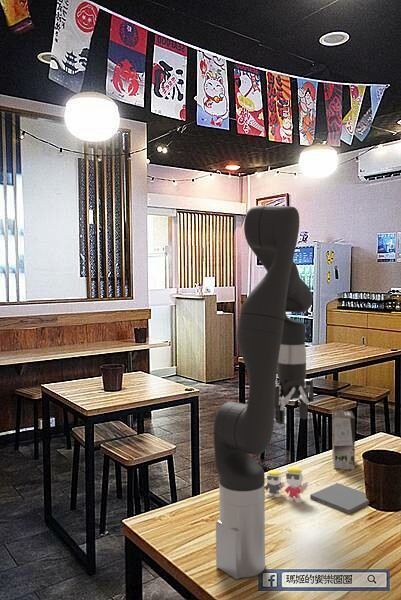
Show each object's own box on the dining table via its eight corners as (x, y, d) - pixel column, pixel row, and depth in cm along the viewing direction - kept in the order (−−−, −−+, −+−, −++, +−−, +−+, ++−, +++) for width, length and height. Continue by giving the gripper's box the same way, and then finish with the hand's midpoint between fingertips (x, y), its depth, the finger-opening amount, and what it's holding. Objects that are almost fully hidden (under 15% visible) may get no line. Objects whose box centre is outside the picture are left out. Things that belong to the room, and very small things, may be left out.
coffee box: (355, 470, 155) (355, 418, 154) (333, 468, 156) (333, 417, 156) (352, 459, 164) (352, 410, 163) (332, 458, 165) (331, 409, 165)
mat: (349, 513, 126) (349, 510, 126) (310, 498, 135) (310, 494, 135) (375, 500, 134) (375, 496, 134) (337, 486, 143) (337, 482, 143)
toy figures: (262, 494, 138) (262, 464, 138) (269, 489, 142) (269, 459, 142) (303, 505, 132) (303, 473, 131) (310, 499, 135) (310, 468, 135)
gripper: (282, 365, 128) (282, 428, 128) (320, 359, 136) (320, 419, 136) (262, 361, 134) (262, 422, 134) (300, 356, 142) (300, 413, 143)
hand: (291, 420), depth 135 cm, fingers open, 8 cm apart
